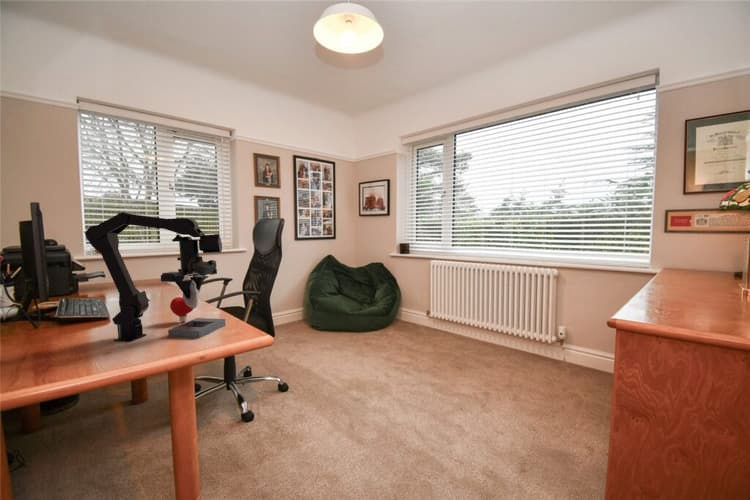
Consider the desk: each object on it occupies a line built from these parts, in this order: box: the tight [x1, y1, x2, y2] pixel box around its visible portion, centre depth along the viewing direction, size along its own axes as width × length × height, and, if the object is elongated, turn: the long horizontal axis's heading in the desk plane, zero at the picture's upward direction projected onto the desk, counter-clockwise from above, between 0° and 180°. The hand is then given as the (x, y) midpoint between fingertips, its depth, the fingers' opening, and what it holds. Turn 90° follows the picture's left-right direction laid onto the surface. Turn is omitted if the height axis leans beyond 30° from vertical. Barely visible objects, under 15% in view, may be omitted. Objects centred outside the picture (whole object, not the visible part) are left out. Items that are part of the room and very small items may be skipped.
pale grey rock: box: [182, 280, 200, 309], centre depth 111 cm, size 6×4×10 cm, turn 74°
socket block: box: [167, 317, 226, 339], centre depth 114 cm, size 12×14×2 cm
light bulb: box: [169, 296, 195, 324], centre depth 124 cm, size 9×7×10 cm
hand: (192, 297), depth 111 cm, fingers closed on pale grey rock, 3 cm apart
